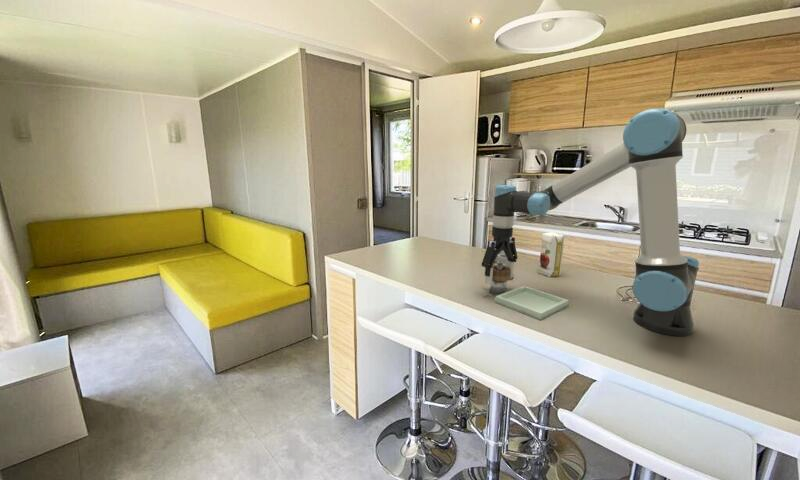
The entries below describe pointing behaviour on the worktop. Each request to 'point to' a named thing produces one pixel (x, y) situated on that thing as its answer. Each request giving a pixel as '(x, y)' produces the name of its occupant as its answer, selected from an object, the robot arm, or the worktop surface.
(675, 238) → the robot arm
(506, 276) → the ring
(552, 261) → the juice carton
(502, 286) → the grey bottle
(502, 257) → the mug
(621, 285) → the worktop surface
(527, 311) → the tray
